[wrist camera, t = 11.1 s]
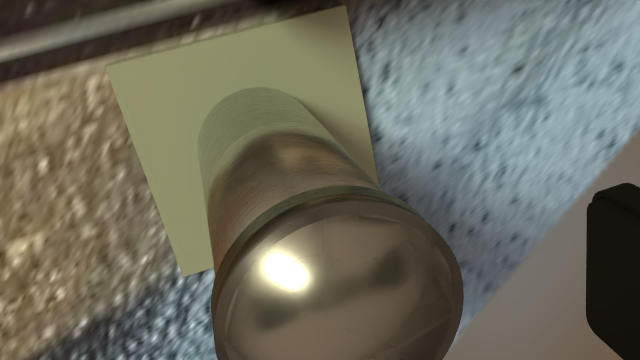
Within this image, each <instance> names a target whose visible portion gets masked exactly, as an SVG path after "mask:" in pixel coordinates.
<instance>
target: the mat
mask: <svg viewBox="0 0 640 360" xmlns="http://www.w3.org/2000/svg"><path fill="white" fill-rule="evenodd" d="M105 68H106V71H107V73H108V76H109V79H110V82H111V84H112V87H113V90H114V92H115V95H116V98H117V100H118V103H119V106H120V108H121V111H122V114H123V116H124V119H125V122H126V124H127V127H128V130H129V133H130V135H131V138H132V141H133V143H134V146H135V149H136V151H137V154H138V157H139V159H140V162H141V165H142V167H143V170H144V173H145V175H146V178H147V181H148V184H149V186H150V189H151V192H152V194H153V197H154V200H155V202H156V205H157V208H158V210H159V213H160V216H161V218H162V221H163V224H164V226H165V229H166V232H167V234H168V237H169V240H170V243H171V245H172V248H173V251H174V253H175V256H176V259H177V261H178V264H179V267H180V269H181V272H182V275H183V277H185V276H189V275H192V274H195V273H198V272H201V271H204V270H207V269H211V268H214V263H213V256H212V249H211V242H210V236H209V229H208V222H207V215H206V208H205V201H204V194H203V188H202V181H201V174H200V167H199V160H198V152H197V143H198V136H199V132H200V129H201V126H202V124H203V122H204V120H205V118H206V116H207V115H208V113H209V112H210V111H211V110H212V109H213V107H214V106H215V105H216V104H218V103H219V102H220V101H221V100H222V99H224V98H225V97H227V96H228V95H230V94H233V93H235V92H237V91H240V90H243V89H247V88H254V87H267V88H273V89H277V90H280V91H283V92H285V93H287V94H289V95H291V96H293V97H294V98H295V99H297V100H298V101H299V102H300V103H301V104H303V105H304V107H305V108H306V109H307V110H308V111H309V112H310V113H311V114H312V115H313V116H314V117H315V118H316V119H317V120H318V121H319V122H320V123H321V125H322V126H323V127H324V128H325V129H326V130H327V131H328V132H329V133H330V134H331V135H332V136H333V137H334V138H335V139H336V140H337V141H338V142H339V144H340V145H341V146H342V147H343V148H344V149H345V150H346V151H347V152H348V153H349V154H350V155H351V156H352V157H353V158H354V159H355V160H356V162H357V163H358V164H359V165H360V166H361V167H362V168H363V169H364V170H365V171H366V172H367V173H368V174H369V175H370V176H371V177H372V178H373V179H374V181H375V182H376V183H377V184H378V185H379V181H378V176H377V171H376V165H375V160H374V154H373V149H372V144H371V138H370V133H369V127H368V122H367V117H366V111H365V106H364V101H363V95H362V90H361V84H360V79H359V74H358V68H357V63H356V57H355V52H354V47H353V41H352V36H351V31H350V25H349V20H348V14H347V9H346V5H343V4H341V5H337V6H333V7H329V8H325V9H322V10H318V11H314V12H310V13H306V14H302V15H298V16H294V17H290V18H286V19H283V20H279V21H275V22H271V23H267V24H263V25H259V26H255V27H251V28H247V29H243V30H240V31H236V32H232V33H228V34H224V35H220V36H216V37H212V38H208V39H204V40H201V41H197V42H193V43H189V44H185V45H181V46H177V47H173V48H169V49H165V50H162V51H158V52H154V53H150V54H146V55H142V56H138V57H134V58H130V59H126V60H123V61H119V62H115V63H111V64H107V65H106V66H105Z"/></svg>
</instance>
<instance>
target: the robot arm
mask: <svg viewBox="0 0 640 360" xmlns="http://www.w3.org/2000/svg"><path fill="white" fill-rule="evenodd" d="M586 266H587V267H586V317H587V321H588V324H589V326H590V327H591V329H592V331H593V332H594V333H595V334H596V335H597V336H598V337H599V338H600V339H601V340H602V341H604V342H605V343H606V344H607V345H608V346H609V347H610V348H611V349H612V350H614V351H615V352H616V353H617V354H618V355H619V356H620V357H621V358H622V359H624V360H640V188H639V187H637V186H635V185H633V184H630V183H623V184H620V185H617V186H614V187H611V188H608V189H605V190H602V191H599V192H597V193H596V194H595V195H594V197H593V200H592V202H591V203H590V204H589V205H588V207H587V259H586Z"/></svg>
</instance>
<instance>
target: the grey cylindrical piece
mask: <svg viewBox="0 0 640 360" xmlns="http://www.w3.org/2000/svg"><path fill="white" fill-rule="evenodd" d="M197 152H198V160H199V167H200V174H201V181H202V188H203V194H204V201H205V208H206V215H207V222H208V229H209V236H210V242H211V249H212V256H213V263H214V270H215V280H214V285H213V290H212V296H211V315H212V324H213V333H214V341H215V350H216V355H217V359H218V360H442V359H443V358H444V356H445V355H446V353H447V352H448V350H449V348H450V346H451V344H452V342H453V340H454V338H455V335H456V332H457V330H458V327H459V324H460V319H461V315H462V310H463V299H464V294H463V281H462V277H461V272H460V268H459V266H458V263H457V260H456V258H455V256H454V254H453V252H452V251H451V249H450V247H449V246H448V244H447V243H446V242H445V241H444V239H443V238H442V237H441V236H440V235H439V234H438V233H437V232H436V231H435V230H434V229H433V228H432V227H431V226H430V225H429V224H428V223H427V222H426V221H425V220H424V219H423V218H422V217H421V216H420V215H419V214H418V213H417V212H416V211H415V210H414V209H413V208H412V207H411V206H409V205H408V204H406V203H405V202H403V201H402V200H400V199H399V198H397V197H395V196H392V195H390V194H388V193H386V192H385V191H384V190H383V189H382V188H381V187H380V186H379V185H378V184H377V183H376V182H375V181H374V179H373V178H372V177H371V176H370V175H369V174H368V173H367V172H366V171H365V170H364V169H363V168H362V167H361V166H360V165H359V164H358V163H357V162H356V160H355V159H354V158H353V157H352V156H351V155H350V154H349V153H348V152H347V151H346V150H345V149H344V148H343V147H342V146H341V145H340V144H339V142H338V141H337V140H336V139H335V138H334V137H333V136H332V135H331V134H330V133H329V132H328V131H327V130H326V129H325V128H324V127H323V126H322V125H321V123H320V122H319V121H318V120H317V119H316V118H315V117H314V116H313V115H312V114H311V113H310V112H309V111H308V110H307V109H306V108H305V107H304V105H303V104H301V103H300V102H299V101H298V100H297V99H295V98H294V97H293V96H291V95H289V94H287V93H285V92H283V91H280V90H277V89H273V88H267V87H254V88H247V89H243V90H240V91H237V92H235V93H233V94H230V95H228V96H227V97H225V98H224V99H222V100H221V101H220V102H219V103H218V104H216V105H215V106H214V107H213V109H212V110H211V111H210V112H209V113H208V115H207V116H206V118H205V120H204V122H203V124H202V126H201V129H200V132H199V136H198V143H197Z"/></svg>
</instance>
